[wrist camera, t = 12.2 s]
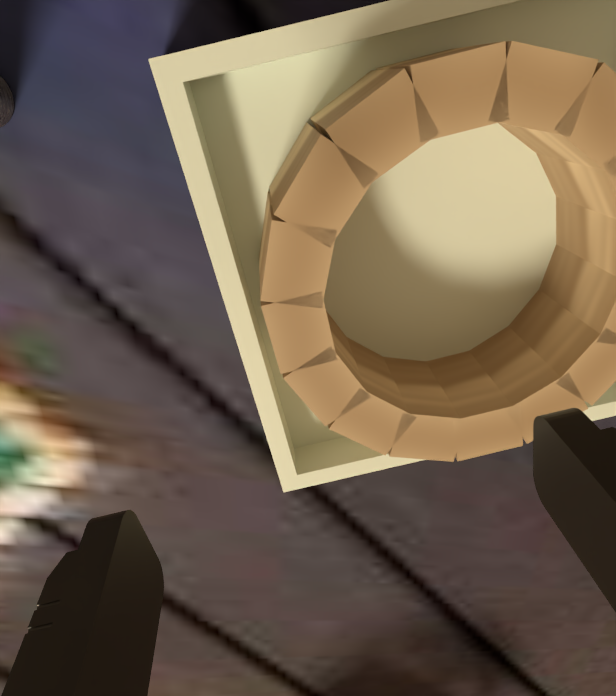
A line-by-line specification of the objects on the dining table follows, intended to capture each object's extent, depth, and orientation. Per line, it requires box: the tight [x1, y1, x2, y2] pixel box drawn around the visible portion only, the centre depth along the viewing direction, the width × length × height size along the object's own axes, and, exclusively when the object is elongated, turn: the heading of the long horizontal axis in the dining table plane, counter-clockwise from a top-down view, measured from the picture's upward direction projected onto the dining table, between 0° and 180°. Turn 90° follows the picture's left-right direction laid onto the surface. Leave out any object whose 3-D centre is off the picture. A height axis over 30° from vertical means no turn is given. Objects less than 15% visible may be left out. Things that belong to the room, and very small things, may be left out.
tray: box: [148, 0, 616, 492], centre depth 21 cm, size 18×18×2 cm
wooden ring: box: [259, 41, 616, 462], centre depth 19 cm, size 14×14×4 cm
